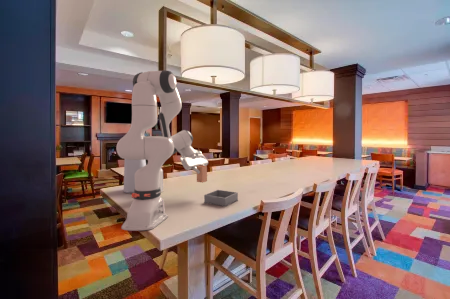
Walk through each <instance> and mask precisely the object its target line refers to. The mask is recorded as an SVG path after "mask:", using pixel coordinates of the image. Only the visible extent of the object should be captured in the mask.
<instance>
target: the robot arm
mask: <svg viewBox="0 0 450 299" xmlns="http://www.w3.org/2000/svg"><path fill="white" fill-rule="evenodd" d="M177 83H178V82H177V78H176V75H175V74H174V73H173V72H172V71H170V70H150V71H144V72H143V71H141V72H138V73H136V74H134V76H133V79H132V86H133V88H132V92H131V93H132V94H131V125H130V128H129V129H128V131H127V132H126V133H125V135H123V137H121V138H120V139H119V140H118V141H117V144H116V146H115V147H116V153H117V155H118V157H119V158H120V159H124V160H125V159H129V160H146V161H147V163H146V166H144V167H142V168H140V169H138V170H137V171H136V173H135V190H134V193H131V198H133V200H132V201H131V204H130V206H129V209H128V210H127V215H126V216H127V217H126V219H125V221H124V222H123V224H122V225H121V227H120V228H121V230H124V231H133V232H134V231H136V232H137V231H149V230H152V229H155V228H156V227H157V226H159V225H161V223H163V222H164V221H165V220H166V219H167V218H169V215H168V214H167V213H166V212H165V211H166V210H165V201H164V198H162V196H161V195H162V194H161V193H162V192H161V190H160V187H159V177H160V170H161V169H162V167H163V165H164V164H165V162H166V161H168V159H170V158H171V156H173V155H174V154H176V153H179V154H180V158H179V160H180V162H181V164H182V166H183V168H184V170H186V171H191V170H193V171H194V172H196V174H197V173H198V174H199V173H201V171H200V170H198V169H197V166H200V165H203V166H208V165H209V161H208V159H207V158H206V156H205V155H204V154H203V153H202V151H201V150H198V149H194V148H193V146H192V144H193V141H194V137H193V134H192V133H191V131H189V130H186V129H182V130H181V131H179V132H177V133H175V134H173V135H171V132H170V130H171V129H170V123H171V122H172V121H173V119H175V117H176V116H177V115H179V114H180V112H181V110H182V109H183V108H182V107H183V106H182V100H181V97H180V93H179V91H178V88H177V86H178V84H177ZM156 95H158V99H159V102H160V105H161V106H160V113H159V114H158V102H157V96H156ZM158 121H159V126H160V127H159V128H160V133H161V135H158V136H157V135H156V136H155V135H154V136H152V135H147V136H146V135H145V132H146V131H148V130H150V129H152V128H154V127H155V126H156V125H157V124H158Z"/></svg>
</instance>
